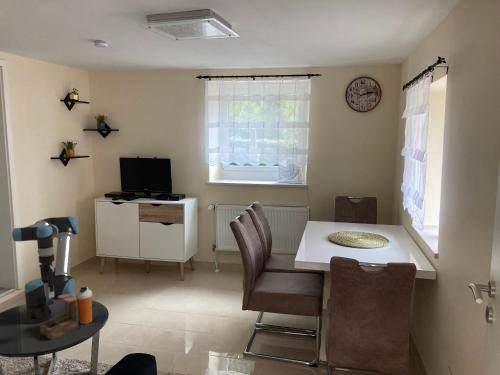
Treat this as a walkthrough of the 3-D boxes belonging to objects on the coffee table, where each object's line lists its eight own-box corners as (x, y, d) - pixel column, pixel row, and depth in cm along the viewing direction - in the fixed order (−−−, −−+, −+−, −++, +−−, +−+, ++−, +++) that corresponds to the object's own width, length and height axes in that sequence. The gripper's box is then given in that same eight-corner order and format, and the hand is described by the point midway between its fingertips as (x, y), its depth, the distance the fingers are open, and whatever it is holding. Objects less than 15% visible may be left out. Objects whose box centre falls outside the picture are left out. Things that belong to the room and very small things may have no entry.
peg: (44, 303, 223) (43, 282, 222) (51, 301, 226) (50, 280, 225) (48, 305, 221) (46, 284, 220) (55, 303, 224) (53, 282, 222)
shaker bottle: (77, 326, 235) (75, 292, 232) (77, 319, 243) (75, 287, 240) (94, 323, 238) (92, 290, 236) (93, 316, 247) (91, 285, 244)
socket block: (40, 333, 227) (37, 302, 225) (68, 322, 240) (66, 293, 237) (51, 339, 220) (48, 308, 217) (79, 328, 232) (76, 298, 230)
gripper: (32, 253, 222) (35, 294, 225) (46, 259, 212) (50, 302, 215) (45, 250, 228) (49, 290, 231) (60, 255, 218) (64, 297, 221)
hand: (49, 296), depth 223 cm, fingers closed on peg, 4 cm apart
